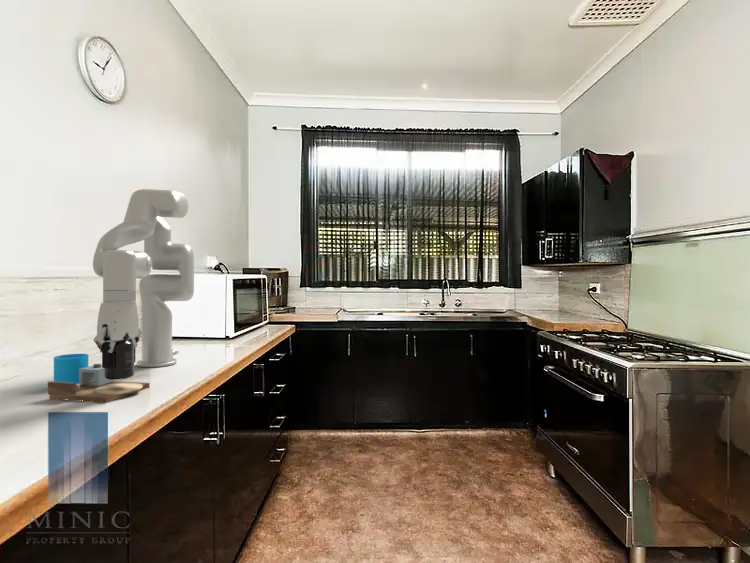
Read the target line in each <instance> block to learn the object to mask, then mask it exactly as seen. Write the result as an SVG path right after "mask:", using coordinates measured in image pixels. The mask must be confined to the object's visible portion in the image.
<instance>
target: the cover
mask: <svg viewBox="0 0 750 563" xmlns="http://www.w3.org/2000/svg"><path fill="white" fill-rule="evenodd" d="M94 381H95V386H100V385H103V384H107V383H110V382H113V381H116V380H110V379H106V378H105V371H104V368H102V363H94V364H93V365H90V366H89V365H88V367H85V368H81V369H79V384H80V385H84V384H87V383H91V382H94Z"/></svg>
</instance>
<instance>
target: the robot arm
mask: <svg viewBox="0 0 750 563" xmlns="http://www.w3.org/2000/svg"><path fill="white" fill-rule="evenodd" d="M188 210H189V202H188V198H187V197H186V194H184V193H183V192H179V191H176V190H170V189H168V190H167V189H154V188H153V189H150V188H149V189H148V188H143V189H142V188H141V189H138V190H135V191H134V192H132V194H131V196H130V198H129V202H128V205H127V209H126V212H125V216H124V219H123V221H122V222H121V223H119V224H118V225H116V226H113V228H110V230H108V231H107V232H105V234H103V235H102V236H101V237H100V239H99V241H98V242H97V246H96V248H95V251H94V255H93V259H92V269H93V272H94V273H95V274H96V275H97V276H98V277H101V278H102V302H100V305H99V309H98V314H97V325H96V335H95V337H93V341H94V343H95V344H96V346H97V349H99V352H100V353H101V365H102V368H114V367H115V352H113V350H114V347H115V344H116V342H118V341H121V340H124V339H123V337H124V336H125V334H128V336H130V338H128V339H129V340H130V341H131V342H133V344H134V364H135V363H136V366H137V367H143V368H157V367H168V366H172V365H175V364H177V362H178V361H177V358H174V357H173V356H175V355H178V354H179V349H176V348H175V349H173V314H172V310H171V309H170V308H169V307H168V305H167V304H166V302H188V301H191V300H192V298H193V297H194V292H195V259H194V258H195V257H194V252H193V249H192V247H191V246H190V245H189V244H186V243H172V230H171V227H170V225H169V224H168V223H167V221H166V220H165V219H164V218H173V219H175V218H176V219H177V218H178V219H181V218H185V216H186V215H187V214H188ZM142 241H143V251H137V250H133V251H132V250H125V249H121V248H122V247H125V246H126V247H127V246H128V245H132V244H135V243H139V242H142ZM152 270H153V271H154V270H155V271H177V272H179V274H175V273H174V274H171V273H152V274H151V272H152ZM137 279H140V280H139V285H138V289H139V295H140V302H141V324H142V325H141V329H140V327H139V314H138V306H137V301H136V299H137V296H136V295H137ZM140 337H141V359H140V360H138V361H136V348H137V347H138V343H139V341H140ZM109 339H110V340H109ZM108 343H110V345H109V346H108V345H107V344H108Z"/></svg>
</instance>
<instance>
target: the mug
mask: <svg viewBox="0 0 750 563" xmlns="http://www.w3.org/2000/svg"><path fill="white" fill-rule="evenodd" d="M85 367H89V354H87V353H70V354H69V353H67V354H60V355H57V356H56V355H55V356H54V357H53V382H70V383H76V384H79V369H81V368H85Z"/></svg>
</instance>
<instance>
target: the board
mask: <svg viewBox="0 0 750 563" xmlns="http://www.w3.org/2000/svg"><path fill="white" fill-rule="evenodd" d="M150 387H151V386H150V382H142V381H140V382H139V381H123V380H122V381H119V380H115V381H113V382H110V383H107V384H103V385H100V386H95V381H94V382H91V383H87V384H84V385H80V384H76V383H70V382H54V381H48V382H47V395H49V396H48V398H49V400H53V399H68V400H67V401H69V400H81V401H80V402H85V401H93V402H92V403H101V402H102V403H101V404H107V403H111V402H112V401H116V400H118V399H121V398H124V397H126V396H129V395H132V394H135V393H137V392H140V391H142V390H146V389H148V388H150ZM82 400H83V401H82Z"/></svg>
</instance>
